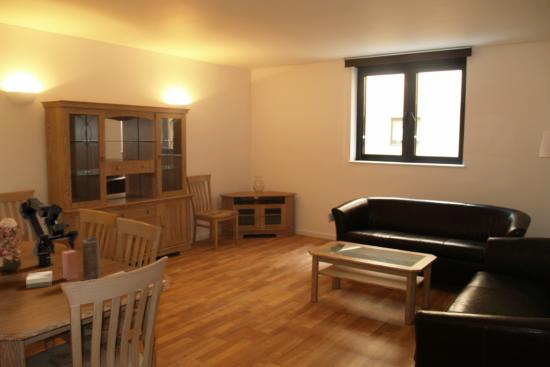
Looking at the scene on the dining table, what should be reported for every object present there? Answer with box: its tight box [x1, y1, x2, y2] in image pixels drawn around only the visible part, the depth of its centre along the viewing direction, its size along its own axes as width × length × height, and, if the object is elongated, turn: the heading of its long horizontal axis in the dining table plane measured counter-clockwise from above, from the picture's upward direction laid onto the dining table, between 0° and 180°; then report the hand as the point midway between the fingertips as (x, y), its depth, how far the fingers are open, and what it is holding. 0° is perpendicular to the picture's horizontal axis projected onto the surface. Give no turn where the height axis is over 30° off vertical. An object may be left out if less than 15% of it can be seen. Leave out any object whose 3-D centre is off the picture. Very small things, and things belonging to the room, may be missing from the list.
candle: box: [81, 237, 101, 281], centre depth 213 cm, size 8×7×20 cm
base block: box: [25, 270, 53, 289], centre depth 209 cm, size 10×10×4 cm
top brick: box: [61, 249, 79, 281], centre depth 217 cm, size 5×5×13 cm
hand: (64, 251), depth 220 cm, fingers open, 9 cm apart
